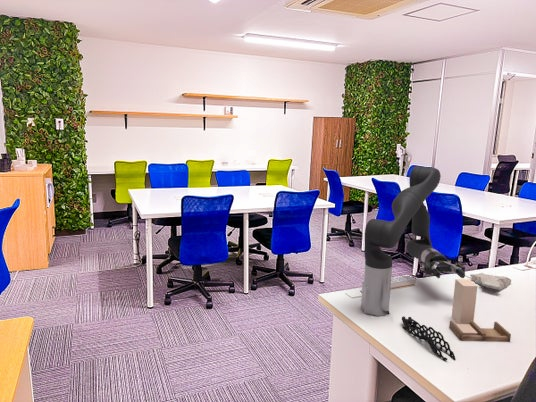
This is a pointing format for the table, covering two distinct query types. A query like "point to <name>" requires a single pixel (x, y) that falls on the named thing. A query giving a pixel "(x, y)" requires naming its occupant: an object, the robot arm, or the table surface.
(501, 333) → the wooden open-ended tray
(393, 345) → the table surface
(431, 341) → the decorative element
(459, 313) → the beige wooden block
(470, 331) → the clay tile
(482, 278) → the rock
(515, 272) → the table surface
